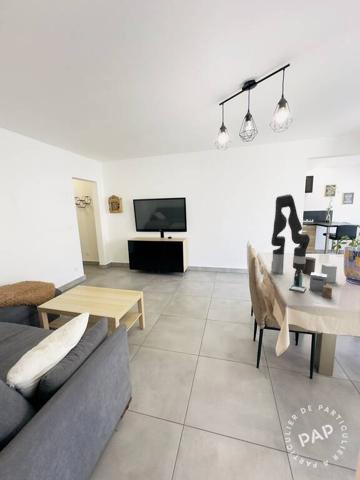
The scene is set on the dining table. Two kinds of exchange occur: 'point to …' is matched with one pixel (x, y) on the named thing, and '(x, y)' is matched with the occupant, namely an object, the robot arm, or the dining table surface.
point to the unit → (317, 281)
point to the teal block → (299, 282)
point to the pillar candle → (309, 266)
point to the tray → (297, 289)
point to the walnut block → (327, 291)
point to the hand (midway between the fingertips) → (297, 284)
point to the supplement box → (329, 272)
